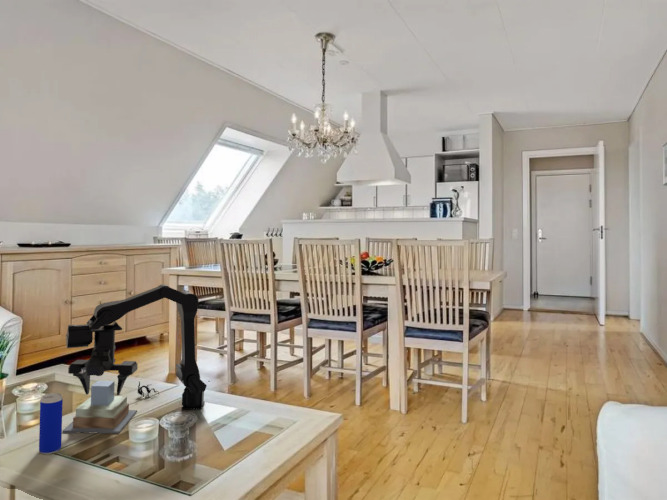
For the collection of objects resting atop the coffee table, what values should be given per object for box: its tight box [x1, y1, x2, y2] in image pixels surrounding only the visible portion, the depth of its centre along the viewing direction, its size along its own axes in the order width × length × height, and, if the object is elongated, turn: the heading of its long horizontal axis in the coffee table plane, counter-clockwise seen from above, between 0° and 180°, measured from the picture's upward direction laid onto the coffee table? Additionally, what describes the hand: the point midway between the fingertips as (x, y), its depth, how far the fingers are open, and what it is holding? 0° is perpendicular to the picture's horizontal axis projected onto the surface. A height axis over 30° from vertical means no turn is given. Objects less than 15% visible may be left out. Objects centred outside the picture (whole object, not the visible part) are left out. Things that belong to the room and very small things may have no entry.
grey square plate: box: [62, 409, 138, 434], centre depth 146 cm, size 16×16×1 cm
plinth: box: [72, 395, 130, 428], centre depth 146 cm, size 12×12×6 cm
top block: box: [90, 380, 116, 406], centre depth 146 cm, size 5×5×6 cm
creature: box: [137, 381, 160, 400], centre depth 169 cm, size 8×5×8 cm
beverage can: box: [38, 392, 64, 455], centre depth 126 cm, size 5×5×15 cm
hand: (102, 394), depth 146 cm, fingers open, 9 cm apart
